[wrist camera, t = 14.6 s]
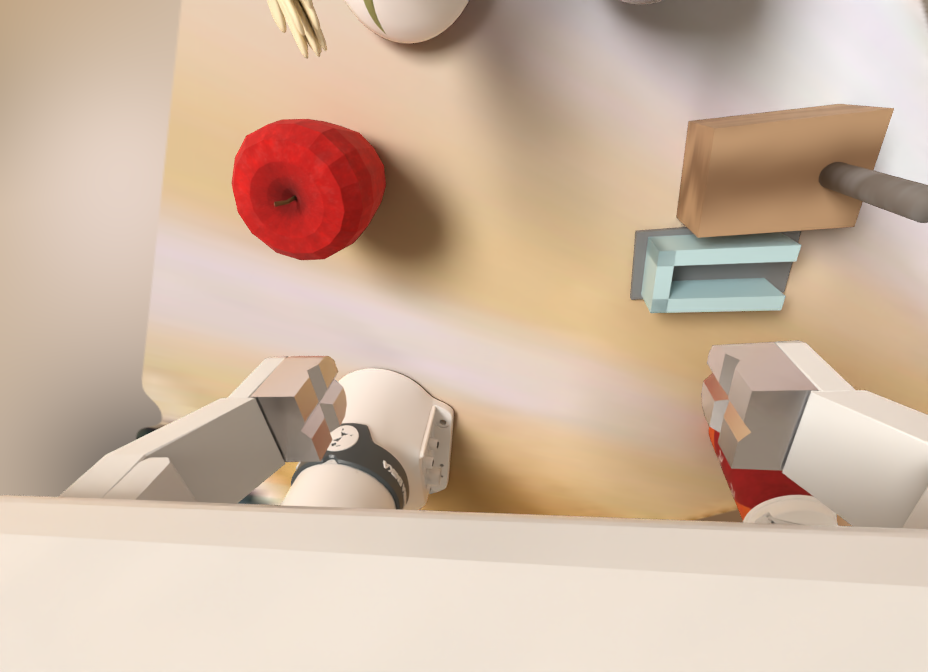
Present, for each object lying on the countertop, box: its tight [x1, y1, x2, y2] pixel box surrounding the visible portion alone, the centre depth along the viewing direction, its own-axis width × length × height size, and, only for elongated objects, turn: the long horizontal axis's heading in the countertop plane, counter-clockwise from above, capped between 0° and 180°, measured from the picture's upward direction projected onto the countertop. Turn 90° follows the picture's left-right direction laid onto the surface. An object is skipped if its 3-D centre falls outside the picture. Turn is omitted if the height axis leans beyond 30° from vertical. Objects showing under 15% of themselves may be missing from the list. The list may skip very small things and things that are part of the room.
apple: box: [232, 119, 386, 260], centre depth 36 cm, size 10×10×14 cm
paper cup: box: [709, 427, 838, 526], centre depth 45 cm, size 8×8×14 cm
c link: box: [641, 232, 801, 313], centre depth 39 cm, size 11×6×4 cm, turn 95°
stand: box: [677, 104, 928, 238], centre depth 30 cm, size 8×11×15 cm
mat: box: [630, 227, 801, 300], centre depth 41 cm, size 7×14×1 cm, turn 97°
